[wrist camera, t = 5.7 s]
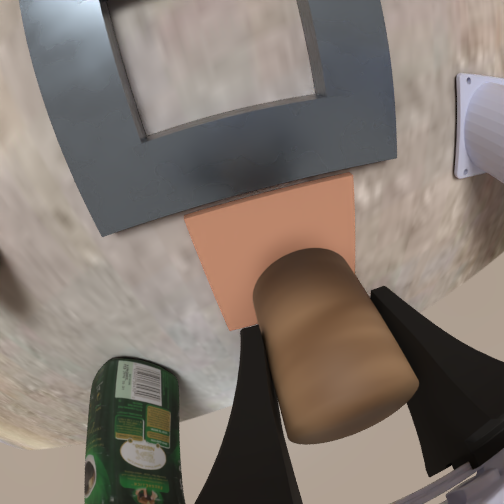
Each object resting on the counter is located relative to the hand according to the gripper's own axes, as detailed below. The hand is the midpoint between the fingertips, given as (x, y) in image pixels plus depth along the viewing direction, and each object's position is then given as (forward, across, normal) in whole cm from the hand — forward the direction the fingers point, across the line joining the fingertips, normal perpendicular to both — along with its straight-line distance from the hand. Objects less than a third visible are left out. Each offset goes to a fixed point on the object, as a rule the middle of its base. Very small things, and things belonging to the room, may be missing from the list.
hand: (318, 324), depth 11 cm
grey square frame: (+8, +1, -11) cm, 14 cm away
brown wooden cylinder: (+2, 0, 0) cm, 2 cm away
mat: (+8, 0, +3) cm, 9 cm away
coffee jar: (+9, +16, +13) cm, 22 cm away
